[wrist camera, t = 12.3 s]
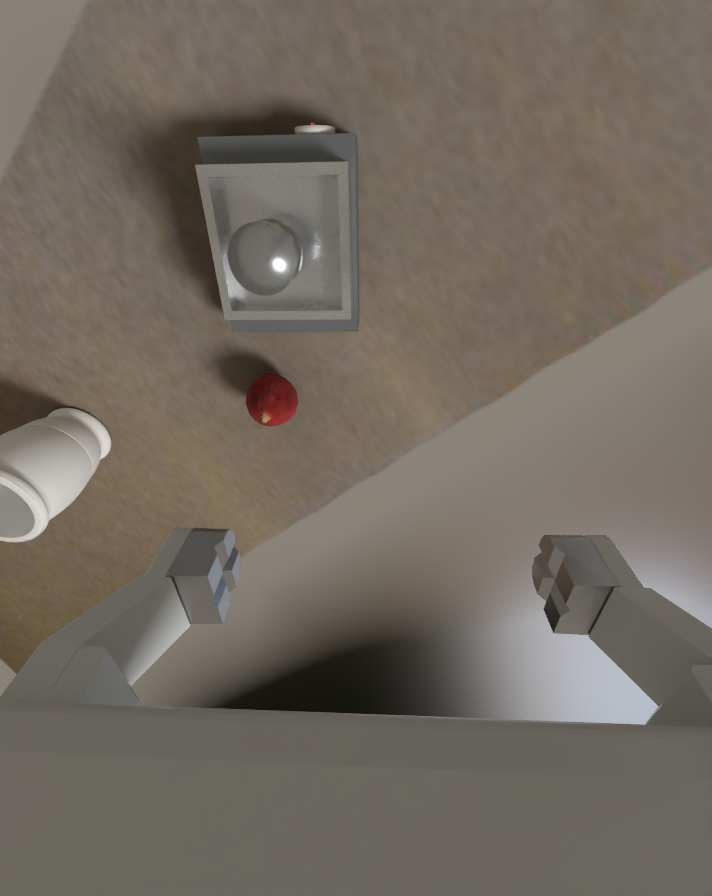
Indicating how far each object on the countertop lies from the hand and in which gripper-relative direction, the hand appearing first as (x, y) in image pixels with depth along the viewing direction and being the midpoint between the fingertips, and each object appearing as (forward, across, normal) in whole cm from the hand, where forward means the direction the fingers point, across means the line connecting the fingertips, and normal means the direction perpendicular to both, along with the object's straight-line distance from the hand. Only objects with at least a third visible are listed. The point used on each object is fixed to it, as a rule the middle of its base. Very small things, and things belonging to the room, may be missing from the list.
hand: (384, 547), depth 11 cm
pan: (+33, +8, -4) cm, 34 cm away
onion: (+37, +12, +12) cm, 41 cm away
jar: (+37, +40, +19) cm, 58 cm away
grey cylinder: (+32, +8, -4) cm, 34 cm away
